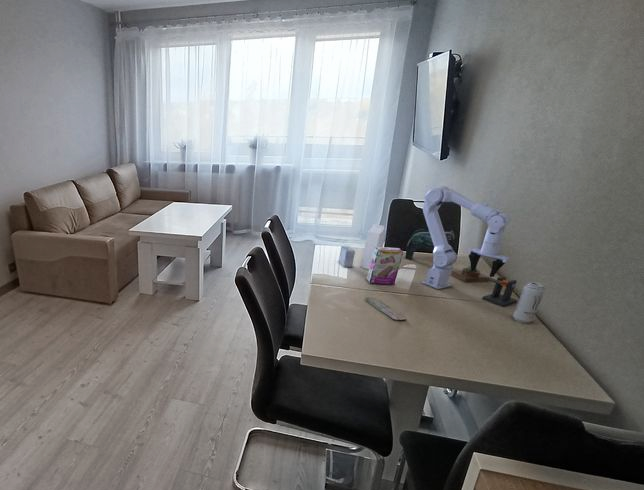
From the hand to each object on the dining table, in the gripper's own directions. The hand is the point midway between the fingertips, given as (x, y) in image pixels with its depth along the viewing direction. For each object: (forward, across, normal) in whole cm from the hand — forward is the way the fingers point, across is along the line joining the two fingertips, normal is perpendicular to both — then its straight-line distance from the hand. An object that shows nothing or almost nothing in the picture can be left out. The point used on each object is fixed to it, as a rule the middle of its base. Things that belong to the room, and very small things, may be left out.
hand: (482, 273), depth 174 cm
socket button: (+7, +14, -19) cm, 24 cm away
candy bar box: (+10, +27, +26) cm, 39 cm away
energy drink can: (+11, -21, +6) cm, 24 cm away
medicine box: (+10, +51, +23) cm, 57 cm away
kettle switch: (+3, -7, -1) cm, 8 cm away
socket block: (+10, +14, -19) cm, 26 cm away
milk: (+10, +43, +15) cm, 46 cm away
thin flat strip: (+10, +7, +48) cm, 50 cm away
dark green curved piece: (+10, +38, -21) cm, 45 cm away
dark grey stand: (+11, -7, -5) cm, 14 cm away
